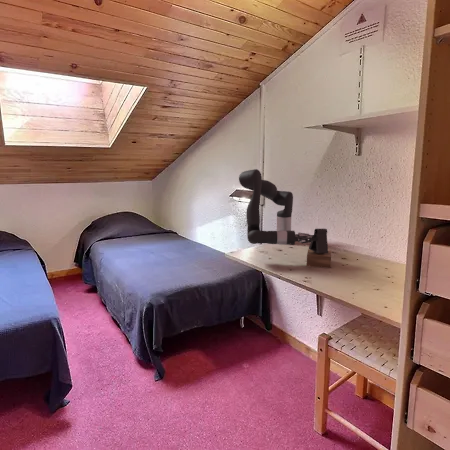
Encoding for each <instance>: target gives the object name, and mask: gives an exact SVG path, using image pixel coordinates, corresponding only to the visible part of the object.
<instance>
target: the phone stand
mask: <svg viewBox="0 0 450 450" xmlns="http://www.w3.org/2000/svg"><path fill="white" fill-rule="evenodd" d="M313 232H314V233H313V234H312V235H313V237H317V238H319V237H320V238H319V240H318V239H317V241H311V242H310V243H309V245H308V249H311V250H312V251H314V252H316V253H328V251H329V247H328V246H329V245H328V229H327V228H315V229H314V231H313Z"/></svg>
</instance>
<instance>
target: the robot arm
mask: <svg viewBox="0 0 450 450" xmlns="http://www.w3.org/2000/svg"><path fill="white" fill-rule="evenodd" d="M262 177H263V176H262V173H261V171H260V170H259V169H257V168H254V169H249V170H244V171H241V172H240V174H239V176H238V183H239V184H240V186H242V187H243V188H244V189H247V190H250V191H252V195H251V198H250V200H249V203H248V205H247V207H246V225H247V230H246V231H247V233H246V234H247V236H246V237H247V240H248V241H247V242H248V243H250V244H252V245H257V244H267V245H281V246H282V245H284V246H285V245H286V246H294V245H295V244H296V242H298V243H301V244H307V243H309V244H310V243H311V241H317V239H318V240H319V238H320V237H319V238H317V237H313V235H314V234H310V233H307V232H306V233H305V232H297V233H296V231H295V230H292V213H293V205H294V194H293V192H291V191H286V190H278V188H277V187H278V186H276V184H274V183H273V182H271V181H269V180H267V179H263V178H262ZM261 196H262V197H264V198H266V199H268V200H271V201H272V203H274V204H275V205H277V206H281V207H282V206H284V209H282V210H278V211H276V230H261V227H260V223H261V217H260V216H261V214H260V212H261V210H260V207H261V206H260V205H261Z"/></svg>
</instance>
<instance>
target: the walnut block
mask: <svg viewBox="0 0 450 450" xmlns="http://www.w3.org/2000/svg"><path fill="white" fill-rule="evenodd" d="M331 266H332V251H331V250H328V253H316V252H314V251H312V250H311V249H309V248H308V249H307V254H306V267H314V268H325V269H330V268H331Z"/></svg>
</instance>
